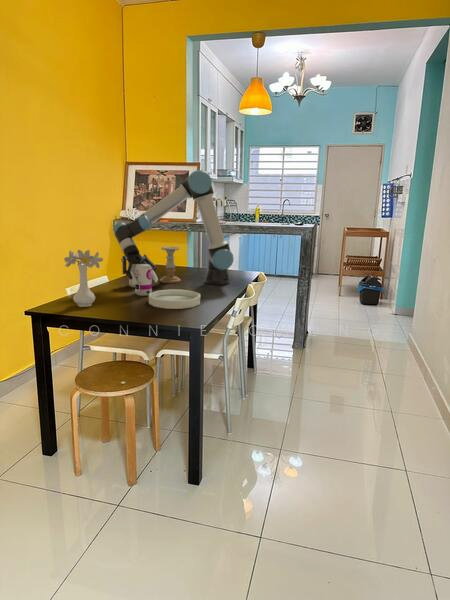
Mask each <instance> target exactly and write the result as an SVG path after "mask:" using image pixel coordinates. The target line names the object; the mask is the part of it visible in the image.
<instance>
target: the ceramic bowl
mask: <svg viewBox="0 0 450 600" xmlns="http://www.w3.org/2000/svg"><path fill="white" fill-rule="evenodd" d="M148 304H149V305H150V306H152V307H155V308H161V309H166V310H168V309H177V310H179V309H182V310H183V309H189V308H195V307H197V306H200V305H201V293H199V292H197V291H194V290H188V289H187V290H186V289H163V290H162V289H161V290H160V289H159V290H156V291H152V293H150V295H148Z"/></svg>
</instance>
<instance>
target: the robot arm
mask: <svg viewBox="0 0 450 600" xmlns="http://www.w3.org/2000/svg"><path fill="white" fill-rule="evenodd" d="M212 183H213V182H212V178H211V175H210V174H209V173H208V172H207V171H206V170H202V169H198V170H194V171H193V172H191V173H190V174H189V175H188V176H187V177H186V179H185V180H184V181H182V182H181V183H180V185H179V186H178V187H177V188H176V189H175V190H173V191H171V193H169V194H168V195H166V196H165V197H163V198H162V199H161V200H160V201H159V202H157V203H155V204H154V205H153V206H151V207H150V208H149V209H147V210H146V211H145V212H143V213H142V214H141V215H139V216H137V217H136V218H135V219H134V220H132V221H130V222H129V223H125V222H121V221H120V222H118V223H115V225H113V228H112V231H113V234H114V237H115V238H116V240H117V242H118V244H119V246H120V248H121V250H122V252H123V255H122V257H121V263H122V265H121V267H122V268H121V269H122V274H123V275H126V277H128V280H129V279H130V280H131V281H132V283H133V285H134V286H135V285H136V283H137V281H136V279H135V277H134V275H133V273H132V272H130V271H131V267H132V264H149V265H150V266H151V268H152V280H153V281H154V283H157V282H159V279H158V276H157V275H158V274H157V271H156V270H157V265H156V264H154V262H153V261H152V260H151V259H150V258H148V256H147V254H145V253H144V254H143V255H141V254H140V249H139V248H138V246H137V245H136V242H135V240H134V237H136V236H138V235H140V234H142V233H144V232H146V231H148V230H149V229H151V228H152V225H153V224H154V223H156V222H157V221H158V220H160V219H162V218H163V217H164V216H165V215H167V214H168V213H169V212H170V211H172V210H174V209H175V208H177V207H178V206H179V205H180V204H182V203H183V202H184V201H186V200H188V199H192V200H193V201H195V202H196V203H197V206H198V207H197V208H198V211H199V213H200V217H201V221H202V224H203V228H204V230H205V233H206V237H207V240H208V243H209V244H208V247H207V250H208V251H207V252H208V253H207V254H208V257H207V258H208V261H207V263H208V264H207V271H206V273H205V277H204V283H206V284H209V285H217V286H218V285H219V286H221V285H223V286H224V285H229V284H230V283H231V277H230V273H229V268H231V267H232V266H233V264H234V258H235V257H234V254H233V253H232V251H231V248H230V245H229V242H228V241H227V240H226V239H225V237H224V234H223V230H222V227H221V224H220V219H219V217H218V213H217V210H216V206H215V203H214V199H213V196H214V194H215V193H214V192H215V191H214V189H213V185H212ZM128 261H129V262H130V263H129V265H128V267H127V262H128ZM141 261H142V262H141Z"/></svg>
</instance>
